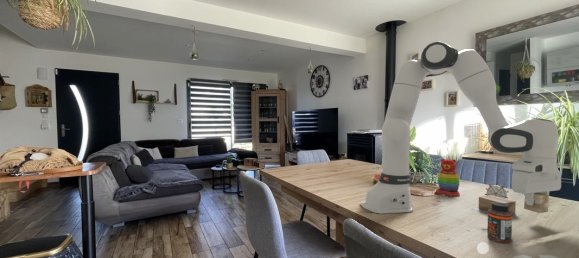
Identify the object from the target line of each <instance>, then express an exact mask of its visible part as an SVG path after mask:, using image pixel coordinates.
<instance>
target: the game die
mask: <svg viewBox="0 0 579 258" xmlns="http://www.w3.org/2000/svg"><path fill="white" fill-rule="evenodd" d="M488 186H489V187H488V188H487V187H486V188H485V190H486V193H484V196H488V195H493V196H497V197H501V198H504V199H509V197H508V194H507V193H509V191H508V190H506V189H505V185H504V186H503V185H502V186H500V185H499V184H498V183H496V184H494V185H493V184H492V185H491V184H490V183H489V184H488Z"/></svg>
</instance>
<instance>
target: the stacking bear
mask: <svg viewBox="0 0 579 258" xmlns="http://www.w3.org/2000/svg"><path fill="white" fill-rule="evenodd" d="M440 168H441V169H440V170H439V173H438V176H437V183H438V188H437V189H435V190H436V192H435V193H434V194H435V195H437V196H439V195H440V196H447V197H450V198H457V197H458V198H459V197H460V195H461V193H460V192H459V187H460V178H459V175H458V172H457V171H456V168H457V160H456V159H454V158H453V159H449V158H448V159H447V158H446V159H445V158H441V159H440Z"/></svg>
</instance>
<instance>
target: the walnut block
mask: <svg viewBox="0 0 579 258" xmlns="http://www.w3.org/2000/svg"><path fill="white" fill-rule="evenodd" d="M492 202H500V203H505V204H507V205H508V211H509V212H510V213H511V214H512V215H514V214H515V212H516V202H517V201H516V200H512V199H509V198H505V199H504V198H501V197H497V196H493V195H488V196H487V195H481V196H478V207H479V209H480V210H484V211H487V212H488V210H489V209H491V208H492Z"/></svg>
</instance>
